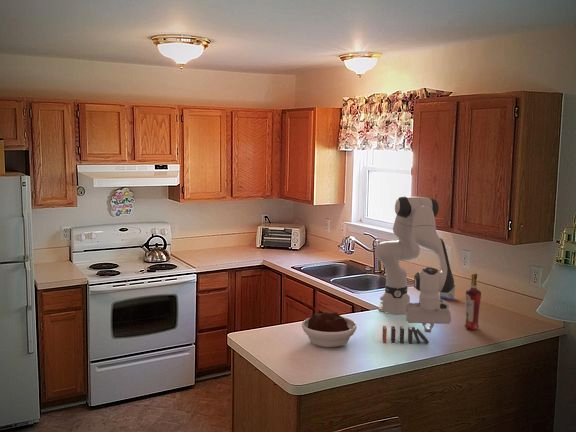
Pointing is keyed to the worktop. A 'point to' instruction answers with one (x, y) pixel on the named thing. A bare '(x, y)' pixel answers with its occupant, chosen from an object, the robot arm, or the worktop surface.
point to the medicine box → (448, 294)
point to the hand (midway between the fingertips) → (427, 332)
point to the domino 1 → (384, 334)
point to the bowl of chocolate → (328, 329)
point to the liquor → (472, 305)
